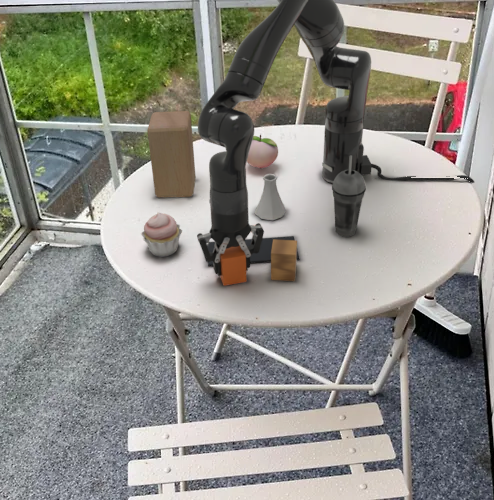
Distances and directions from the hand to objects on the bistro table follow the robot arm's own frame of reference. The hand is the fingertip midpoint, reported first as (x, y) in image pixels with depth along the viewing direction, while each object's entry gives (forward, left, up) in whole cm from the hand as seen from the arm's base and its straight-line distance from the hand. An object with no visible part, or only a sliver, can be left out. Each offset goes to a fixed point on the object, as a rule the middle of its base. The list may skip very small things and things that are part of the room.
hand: (232, 270), depth 139 cm
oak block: (-11, 0, -2) cm, 11 cm away
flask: (-11, -24, -2) cm, 26 cm away
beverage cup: (-27, -14, -2) cm, 30 cm away
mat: (-5, -8, -2) cm, 10 cm away
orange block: (0, 0, -2) cm, 2 cm away
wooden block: (+12, -39, -2) cm, 41 cm away
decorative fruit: (-11, -46, -2) cm, 47 cm away
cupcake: (+15, -12, -2) cm, 19 cm away
